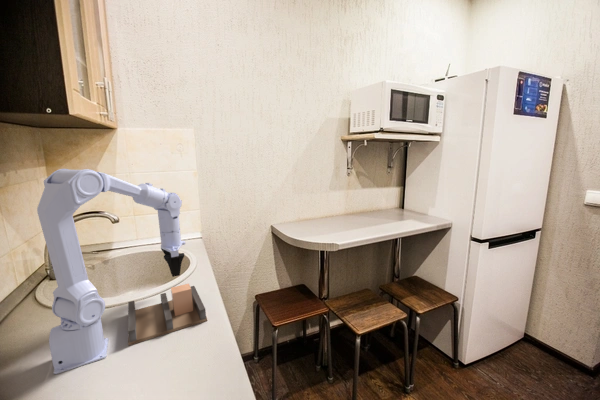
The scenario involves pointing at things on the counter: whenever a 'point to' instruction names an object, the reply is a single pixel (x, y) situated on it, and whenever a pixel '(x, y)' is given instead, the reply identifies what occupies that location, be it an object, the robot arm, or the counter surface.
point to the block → (182, 299)
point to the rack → (162, 318)
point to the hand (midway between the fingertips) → (174, 271)
